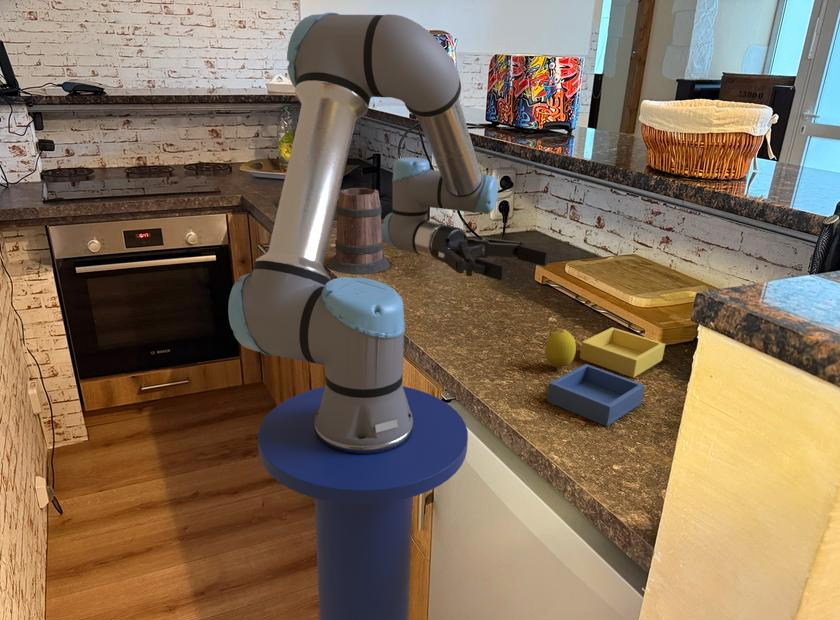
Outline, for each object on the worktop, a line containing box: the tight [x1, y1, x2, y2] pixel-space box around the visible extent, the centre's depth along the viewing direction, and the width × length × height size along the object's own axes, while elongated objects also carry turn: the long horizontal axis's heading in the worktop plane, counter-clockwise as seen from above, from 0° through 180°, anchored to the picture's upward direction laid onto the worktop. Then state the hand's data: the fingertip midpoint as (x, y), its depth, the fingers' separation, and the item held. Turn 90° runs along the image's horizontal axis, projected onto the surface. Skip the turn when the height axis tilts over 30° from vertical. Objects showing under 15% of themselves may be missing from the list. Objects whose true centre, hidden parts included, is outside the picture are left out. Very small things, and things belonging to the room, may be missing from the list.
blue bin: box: [546, 363, 646, 427], centre depth 116 cm, size 12×12×4 cm
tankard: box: [328, 187, 391, 275], centre depth 185 cm, size 24×17×20 cm
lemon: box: [545, 328, 577, 370], centre depth 127 cm, size 6×6×8 cm
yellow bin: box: [579, 326, 666, 379], centre depth 133 cm, size 12×12×4 cm
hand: (525, 266), depth 127 cm, fingers open, 13 cm apart
